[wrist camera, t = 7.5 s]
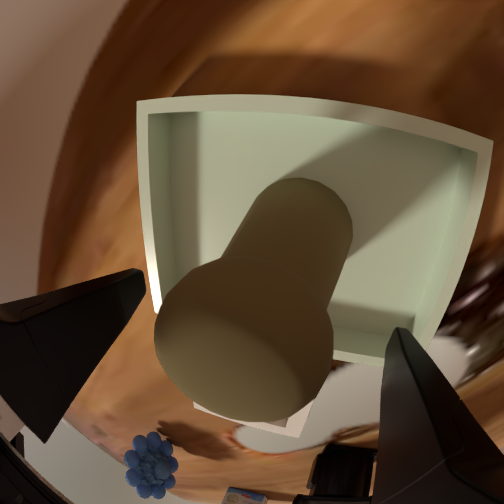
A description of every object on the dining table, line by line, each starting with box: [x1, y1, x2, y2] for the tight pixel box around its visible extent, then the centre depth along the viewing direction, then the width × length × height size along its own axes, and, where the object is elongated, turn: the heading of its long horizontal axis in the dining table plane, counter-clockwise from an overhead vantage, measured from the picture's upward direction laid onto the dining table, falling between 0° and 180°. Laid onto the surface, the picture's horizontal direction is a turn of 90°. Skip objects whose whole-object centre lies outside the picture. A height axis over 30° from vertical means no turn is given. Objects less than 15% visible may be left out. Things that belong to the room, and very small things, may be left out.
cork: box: [154, 177, 353, 422], centre depth 11 cm, size 6×6×11 cm
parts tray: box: [137, 94, 494, 367], centre depth 15 cm, size 18×14×3 cm
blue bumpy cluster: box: [124, 432, 178, 499], centre depth 33 cm, size 12×7×12 cm, turn 31°
